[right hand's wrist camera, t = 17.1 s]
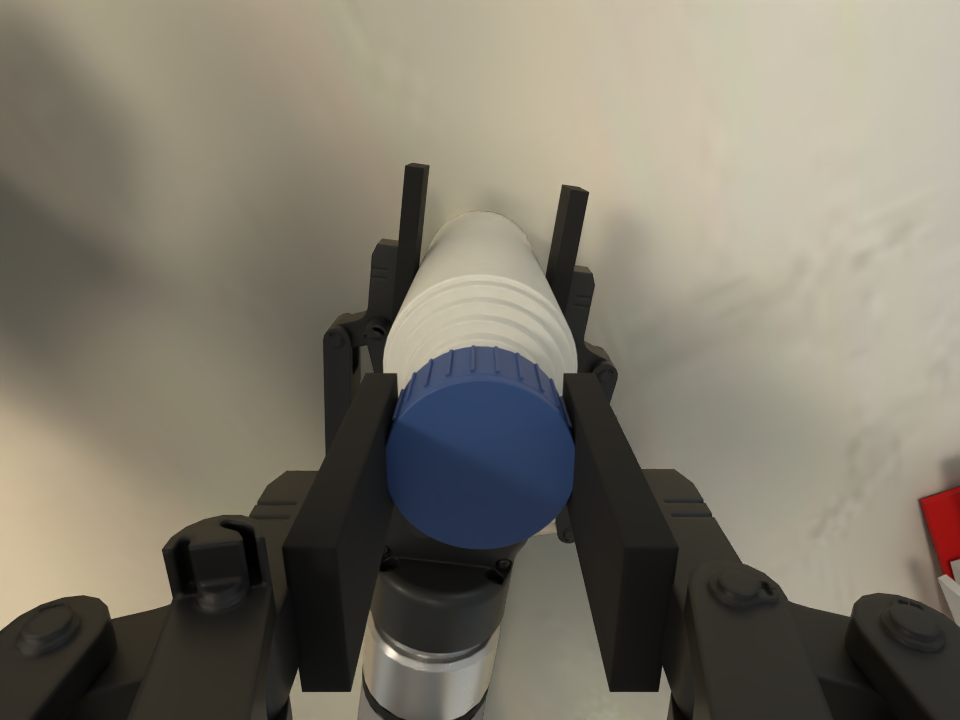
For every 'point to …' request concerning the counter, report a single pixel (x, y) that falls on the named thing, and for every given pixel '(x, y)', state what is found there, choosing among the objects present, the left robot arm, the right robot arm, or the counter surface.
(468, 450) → the cap
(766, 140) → the counter surface
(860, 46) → the counter surface
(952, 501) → the toy
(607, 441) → the right robot arm
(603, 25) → the counter surface
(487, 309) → the bottle
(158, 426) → the counter surface
